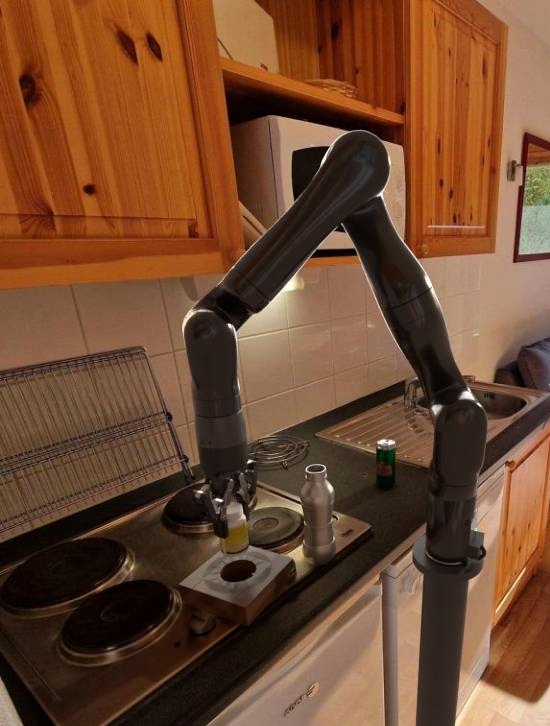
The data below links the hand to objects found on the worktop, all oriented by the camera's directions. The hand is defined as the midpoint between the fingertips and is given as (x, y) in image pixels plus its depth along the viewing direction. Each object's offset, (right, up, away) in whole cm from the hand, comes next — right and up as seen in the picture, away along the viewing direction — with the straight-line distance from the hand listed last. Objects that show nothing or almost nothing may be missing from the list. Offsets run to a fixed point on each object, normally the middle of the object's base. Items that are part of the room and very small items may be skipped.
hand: (233, 528), depth 82 cm
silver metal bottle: (+13, -9, +13) cm, 20 cm away
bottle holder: (0, -12, +5) cm, 13 cm away
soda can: (+26, +3, +42) cm, 49 cm away
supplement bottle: (0, -4, +2) cm, 5 cm away
